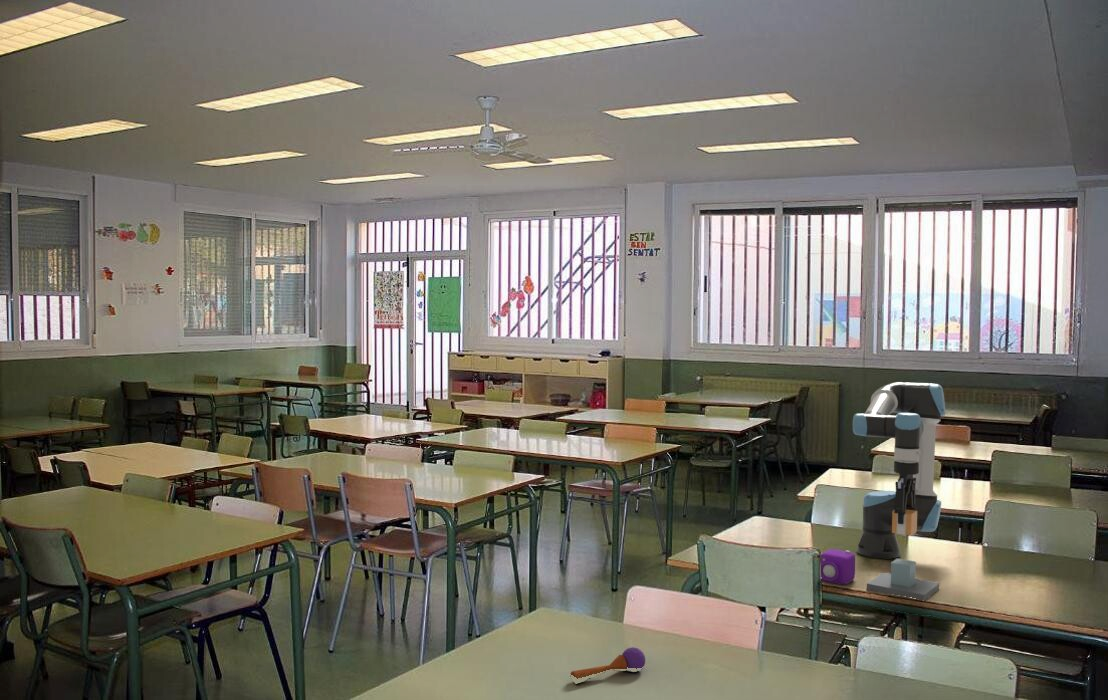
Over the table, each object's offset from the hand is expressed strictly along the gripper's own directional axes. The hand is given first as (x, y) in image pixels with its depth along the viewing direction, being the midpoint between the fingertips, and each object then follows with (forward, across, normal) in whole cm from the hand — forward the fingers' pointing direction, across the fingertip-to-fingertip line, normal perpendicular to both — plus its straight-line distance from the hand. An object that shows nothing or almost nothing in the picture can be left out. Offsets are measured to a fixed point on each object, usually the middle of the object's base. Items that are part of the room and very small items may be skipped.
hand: (904, 531), depth 290 cm
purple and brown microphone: (+20, -120, +33) cm, 125 cm away
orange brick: (0, 0, 0) cm, 0 cm away
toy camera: (+19, -6, +20) cm, 28 cm away
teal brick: (+17, 0, 0) cm, 17 cm away
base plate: (+19, 0, 0) cm, 19 cm away
